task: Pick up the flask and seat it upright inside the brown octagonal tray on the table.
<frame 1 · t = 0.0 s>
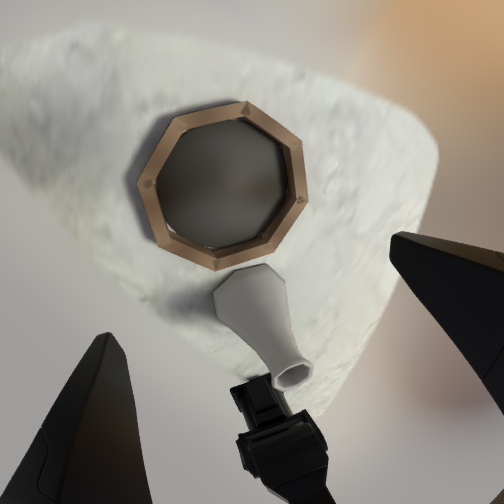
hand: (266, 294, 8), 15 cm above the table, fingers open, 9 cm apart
flask: (249, 296, 27), on the table
brown octagonal tray: (224, 185, 21), on the table
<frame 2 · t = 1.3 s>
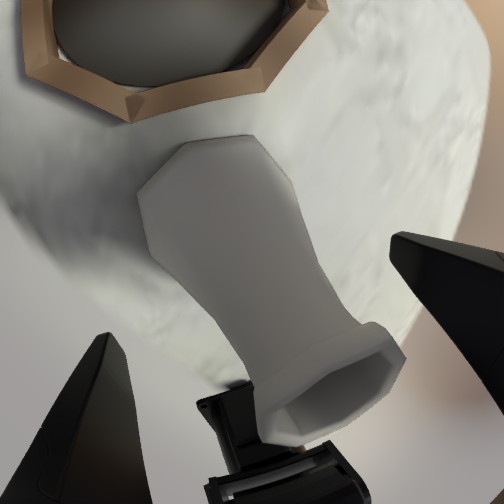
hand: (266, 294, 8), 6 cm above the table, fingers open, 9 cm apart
flask: (218, 212, 13), on the table
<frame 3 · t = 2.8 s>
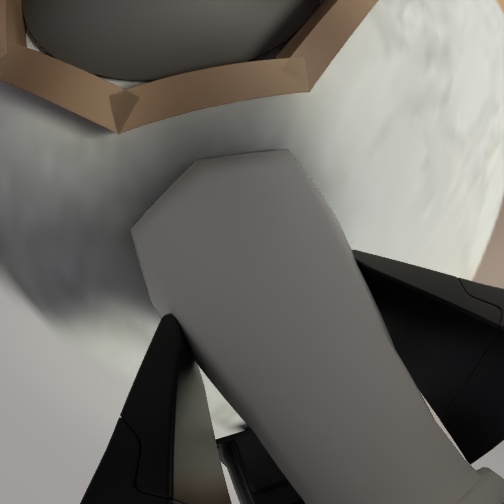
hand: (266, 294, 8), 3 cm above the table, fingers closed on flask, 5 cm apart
flask: (238, 249, 10), on the table, touching gripper
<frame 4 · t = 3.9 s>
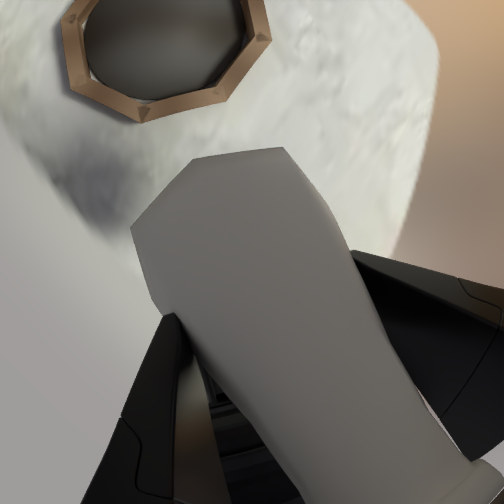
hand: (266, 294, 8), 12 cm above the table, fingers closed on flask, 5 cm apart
flask: (236, 245, 10), point 9 cm above the table, touching gripper
brown octagonal tray: (164, 26, 13), on the table
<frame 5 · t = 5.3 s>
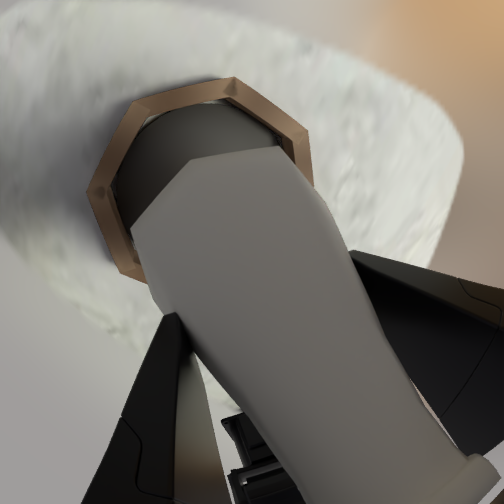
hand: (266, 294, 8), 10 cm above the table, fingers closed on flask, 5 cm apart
flask: (235, 244, 11), point 7 cm above the table, touching gripper
brown octagonal tray: (205, 191, 16), on the table
when the fingers open (5 cm above the table, at t = 6.8 s): flask stays where it is, resting on brown octagonal tray.
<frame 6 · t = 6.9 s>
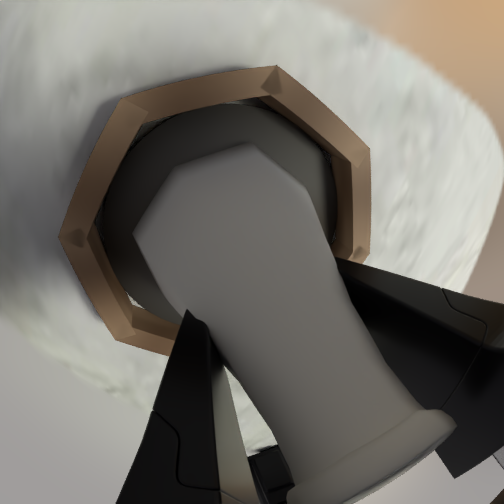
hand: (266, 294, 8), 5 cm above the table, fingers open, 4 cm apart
flask: (228, 234, 12), resting on brown octagonal tray
brown octagonal tray: (228, 229, 12), on the table
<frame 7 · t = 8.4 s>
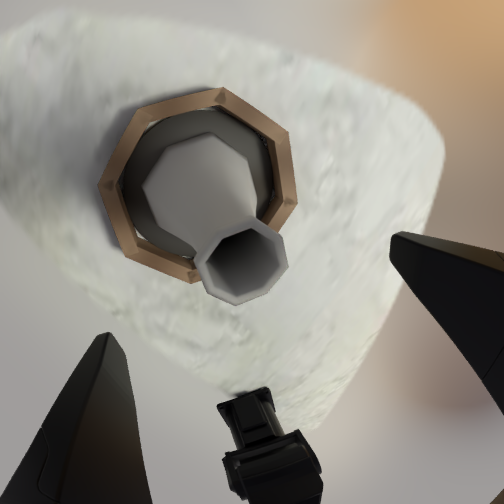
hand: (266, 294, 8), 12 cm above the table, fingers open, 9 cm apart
flask: (199, 188, 18), resting on brown octagonal tray
brown octagonal tray: (199, 186, 18), on the table
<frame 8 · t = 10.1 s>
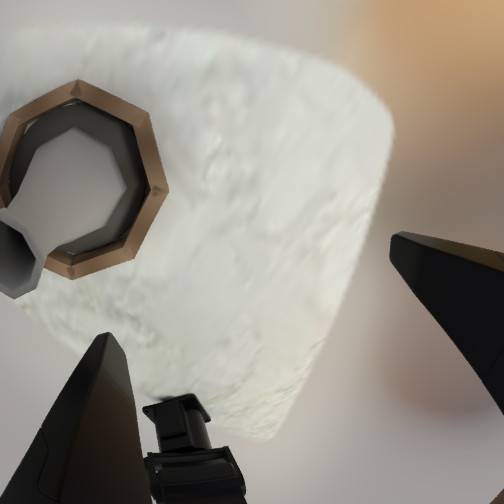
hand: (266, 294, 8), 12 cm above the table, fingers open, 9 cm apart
flask: (72, 183, 15), resting on brown octagonal tray
brown octagonal tray: (73, 181, 15), on the table
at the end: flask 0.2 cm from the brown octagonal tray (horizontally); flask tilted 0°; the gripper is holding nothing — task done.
